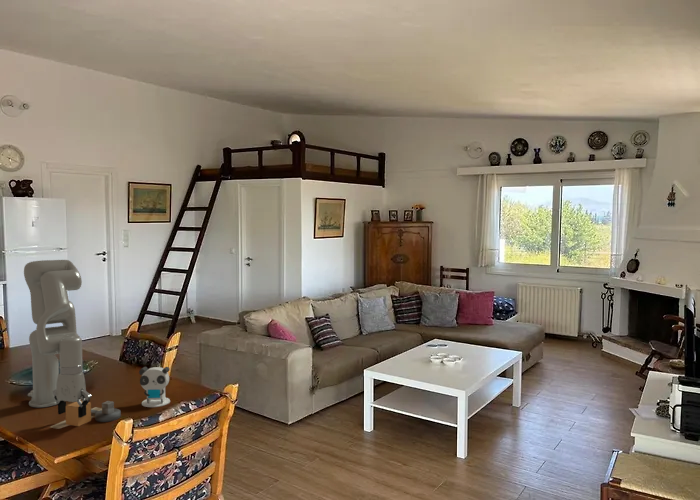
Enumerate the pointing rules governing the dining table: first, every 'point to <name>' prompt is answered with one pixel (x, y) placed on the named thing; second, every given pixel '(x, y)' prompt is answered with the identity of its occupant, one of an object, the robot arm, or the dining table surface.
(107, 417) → the board
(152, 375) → the panda figurine
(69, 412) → the tan wooden cube
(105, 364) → the dining table surface
